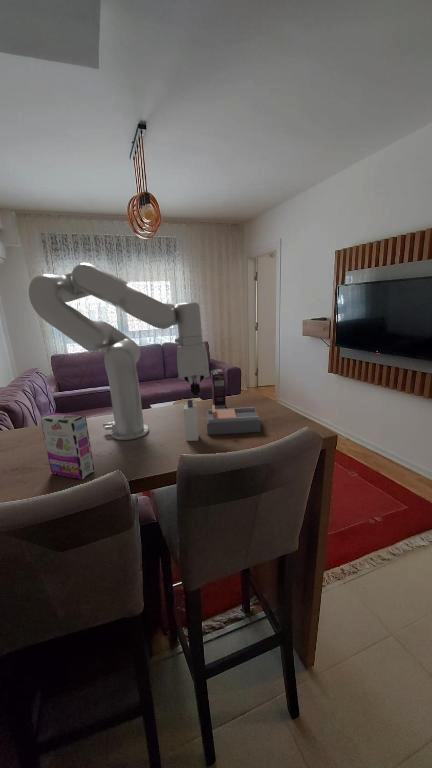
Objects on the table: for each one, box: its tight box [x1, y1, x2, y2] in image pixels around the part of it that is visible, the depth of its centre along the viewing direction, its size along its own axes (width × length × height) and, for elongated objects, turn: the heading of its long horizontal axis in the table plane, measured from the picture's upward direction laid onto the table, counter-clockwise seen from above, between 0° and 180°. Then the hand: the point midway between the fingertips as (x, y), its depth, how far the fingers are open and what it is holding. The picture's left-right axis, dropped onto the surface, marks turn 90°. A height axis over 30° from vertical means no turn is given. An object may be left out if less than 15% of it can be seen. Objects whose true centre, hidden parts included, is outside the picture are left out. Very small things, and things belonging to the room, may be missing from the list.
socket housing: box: [206, 406, 262, 435], centre depth 112 cm, size 18×11×5 cm, turn 92°
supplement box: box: [210, 368, 227, 409], centre depth 129 cm, size 9×5×16 cm, turn 6°
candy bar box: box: [40, 412, 95, 480], centre depth 85 cm, size 11×5×16 cm, turn 69°
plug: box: [183, 399, 200, 442], centre depth 103 cm, size 4×4×13 cm
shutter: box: [211, 404, 236, 419], centre depth 111 cm, size 8×8×3 cm
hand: (195, 394), depth 109 cm, fingers closed
